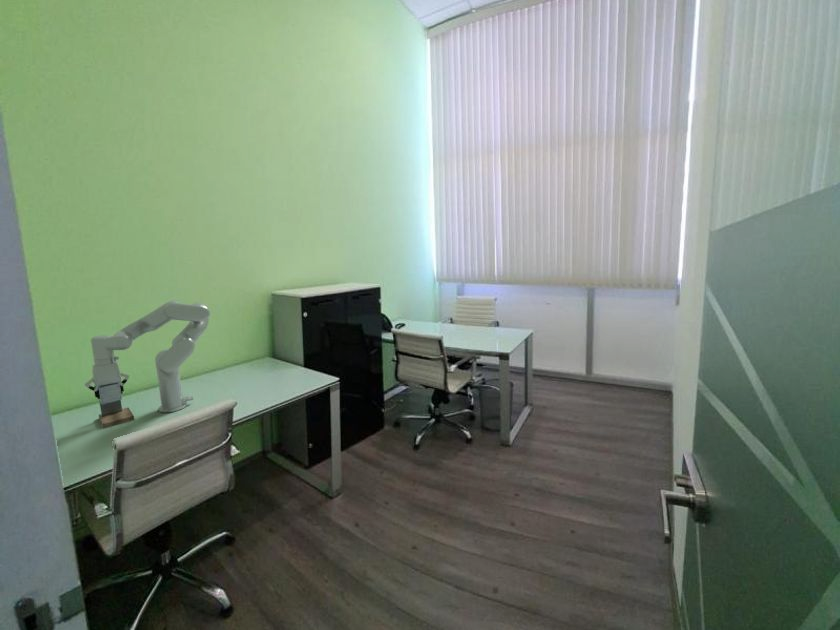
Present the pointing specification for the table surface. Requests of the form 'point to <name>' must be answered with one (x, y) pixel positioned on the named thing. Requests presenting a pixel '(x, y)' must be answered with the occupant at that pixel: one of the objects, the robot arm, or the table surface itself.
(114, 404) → the wooden display stand
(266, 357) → the table surface
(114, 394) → the medicine box
